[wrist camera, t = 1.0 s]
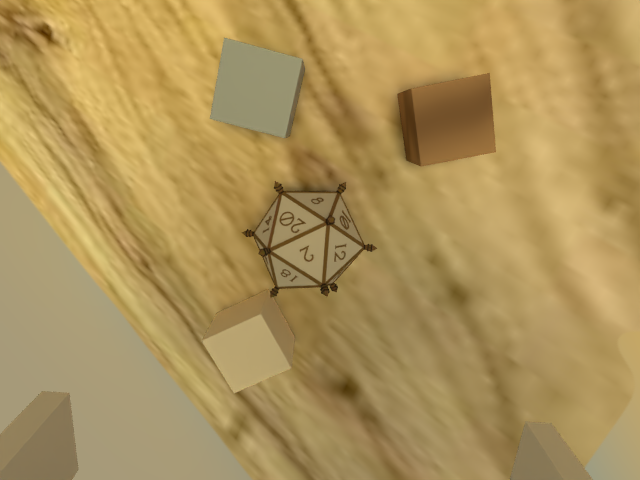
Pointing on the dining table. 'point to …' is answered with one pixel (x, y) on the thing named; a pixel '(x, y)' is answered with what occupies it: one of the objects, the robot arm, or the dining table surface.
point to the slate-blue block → (257, 88)
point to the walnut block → (448, 120)
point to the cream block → (250, 341)
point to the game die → (307, 239)
